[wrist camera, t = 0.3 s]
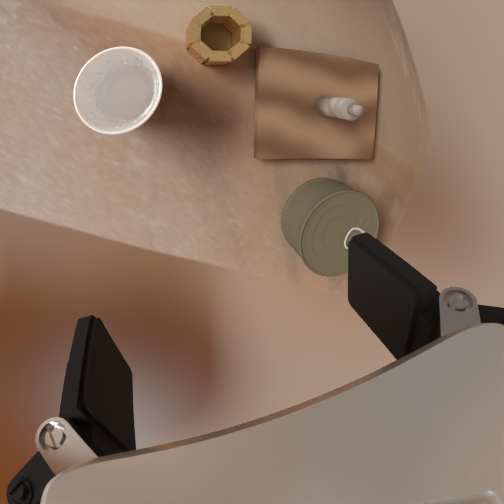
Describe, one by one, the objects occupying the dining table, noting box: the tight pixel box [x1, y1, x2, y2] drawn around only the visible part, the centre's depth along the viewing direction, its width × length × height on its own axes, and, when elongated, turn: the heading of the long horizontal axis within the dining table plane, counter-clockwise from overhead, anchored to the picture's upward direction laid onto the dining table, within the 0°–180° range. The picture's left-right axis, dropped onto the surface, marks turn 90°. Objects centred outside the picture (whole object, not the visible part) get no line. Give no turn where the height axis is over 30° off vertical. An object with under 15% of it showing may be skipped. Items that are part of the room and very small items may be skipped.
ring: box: [186, 6, 252, 65], centre depth 29 cm, size 7×7×4 cm
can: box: [281, 178, 379, 276], centre depth 42 cm, size 12×12×7 cm
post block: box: [254, 47, 379, 160], centre depth 33 cm, size 14×17×10 cm
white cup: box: [73, 47, 163, 134], centre depth 26 cm, size 8×8×10 cm
